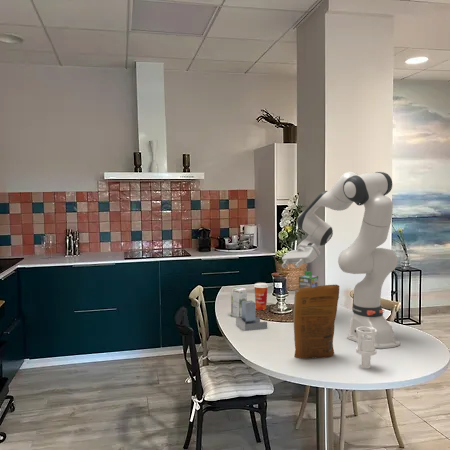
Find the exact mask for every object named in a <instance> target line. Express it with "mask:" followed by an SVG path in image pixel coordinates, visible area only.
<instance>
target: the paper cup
mask: <svg viewBox="0 0 450 450" xmlns="http://www.w3.org/2000/svg"><path fill="white" fill-rule="evenodd" d="M253 287H254V299H255V301H254V302H255V305H256V309H258V310H257V311H260V310H263V309H266V310H267V302H268V300H267V299H268V288H269V286H268V284H267V283H266V282H256V283H254V286H253ZM263 311H264V310H263Z"/></svg>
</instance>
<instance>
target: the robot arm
mask: <svg viewBox="0 0 450 450" xmlns="http://www.w3.org/2000/svg"><path fill="white" fill-rule="evenodd" d="M392 189H393V180H392V177H391V176H390V174H388V173H386V172H384V171H383V172H382V171H375V172H365V173H360V174H358V173H357V172H353V171H346V172H343V174H342V175H341V176H340V177H339V178H338V179H337V180H336V182H335V183H334V185H333V186H332V188H331V189H329V190H324V191H321V193H319V194H318V195H317V196H316V197H315V199H314V200H312V202H311V203H310V204H309V205H308V206H307V207H306V208H305V210H303V211H302V212H301V213H300V214H299V215H298V217H297V219H296V225H297V228H299V229H300V230H302V231H304V232H305V233H306V234H308V235H307V236H306V238H304V239H303V240H302V241H301V242H299V244H298V245H296V246H297V247H296V249H292V250H290V251H288V252H286V254H284V255H283V256H282V257H281V260H282V262H283V263H282V264H281V267H282V268H283V269H286V268H287V267H288V265H291V264H292V265H293V266H294V268H296V269H297V268H299V267H300V266H302V265H304V264H311V263H312V262H314V260H315V259H317V258H318V257H319V256H320V255H321V254H322V253H321V251H320V248H322V247H323V246H324V245H326V244H327V243H328V242H329V241H330V240H331V239H332V237H333V234H334V232H333V231H334V230H333V227H332V226H331V225H330V224H329V223H327V222H326V221H325V220H323V219H322V218H321V217H319V216H318V215H317V214H316V213H315V212H316V211H318V209H319V208H320V207H325V208H328V209H330V210H334V211H336V212H337V211H340V212H341V211H344V210H347V209H349V208H350V207H351V205H352V204H353V203H355V204H356V205H357V206H364V213H363V216H362V222H361V226H360V229H359V233H358V235H357V237H356V239H355V240H354V241H353V243H352V244H350V246H348V247H347V248H345V249H344V250H342V251H341V252H340V254H339V256H338V258H337V259H338V260H337V263H338V267H339V269H340V270H341V272H343V273H346V274H353V275H361V274H363V275H364V274H365V275H364V278H363V279H362V280H361V281H359V282H357V283H356V284H355V286H354V287H353V303H352V313H353V314H352V317H351V318H350V322H349V323H350V324H349V325H350V326H349V334H347V339H348V340H351V341H353V342H356V343H358V333H357V332H356V328H357V327H371V328H375V329H376V330H377V334H376V335H375V349H389V348H395V347H396V348H397V347H398V346H401V342H400V341H399V340H398V339H396V338H395V332H394V329H393V325H391V324H389V322H388V320H387V319H386V318H385V317H384V313H385V309H383V308H382V305H381V297H382V288H383V284H384V282H385V281H386V279H387V277H388V276H389V275H390V274H391V273H392V272H394V270H395V269H396V268H397V265H398V257H397V254H396V253H395V251H394V250H392V249H390V248H384V247H380V246H382V245H384V243H385V242H386V241H387V239H388V235H389V231H390V227H391V223H392V219H393V210H394V208H393V207H394V205H393V201H392V199H391V198H390V197H388V196H387V195H388V194H389V193H390V192H391V191H392ZM359 331H363V332H370V330H359ZM364 337H365V336H364Z"/></svg>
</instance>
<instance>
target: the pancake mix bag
mask: <svg viewBox="0 0 450 450" xmlns="http://www.w3.org/2000/svg"><path fill="white" fill-rule="evenodd" d="M339 298H340V285H338V284H328V285H327V284H326V285H318V286H316V287H307V288H299V287H298V288H297V290H295V292H294V297H293V301H294V303H293V311H292V312H293V313H292V315H293V331H294V332H293V333H294V334H293V335H294V337H293V340H294V348H295V350H294V357H295V358H297V359H301V360H307V359H318V358H319V359H320V358H331V357H333V356H334V354H335V350H334V335H335V324H336V323H335V322H336V317H337V312H338V304H339V303H338V302H339Z"/></svg>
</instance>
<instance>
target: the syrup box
mask: <svg viewBox="0 0 450 450" xmlns="http://www.w3.org/2000/svg"><path fill="white" fill-rule="evenodd" d="M230 293H231V297H230V298H231V299H230V300H231V302H230V303H231V308H230V309H231V312H230V314H231V315H230V316H231V317H233V318H236V317H239V318H242V301H248V297H247V296H248V294H247V293H248V291H247V288H244V287H240V286H239V287H236V288H231V292H230Z"/></svg>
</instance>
